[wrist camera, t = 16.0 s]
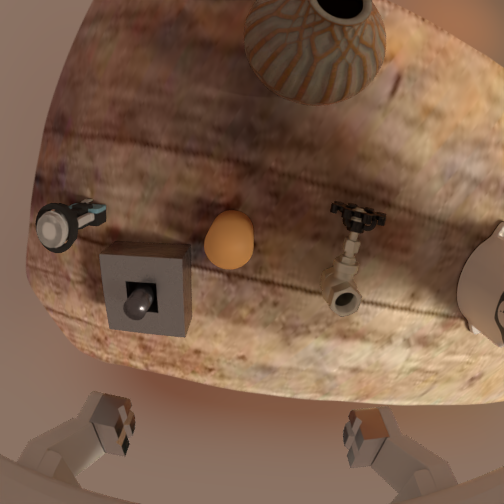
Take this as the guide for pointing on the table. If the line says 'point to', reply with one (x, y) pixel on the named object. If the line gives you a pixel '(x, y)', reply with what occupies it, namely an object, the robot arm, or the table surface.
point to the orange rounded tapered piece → (230, 240)
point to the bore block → (148, 271)
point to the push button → (66, 223)
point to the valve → (348, 259)
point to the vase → (315, 48)
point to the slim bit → (140, 300)
